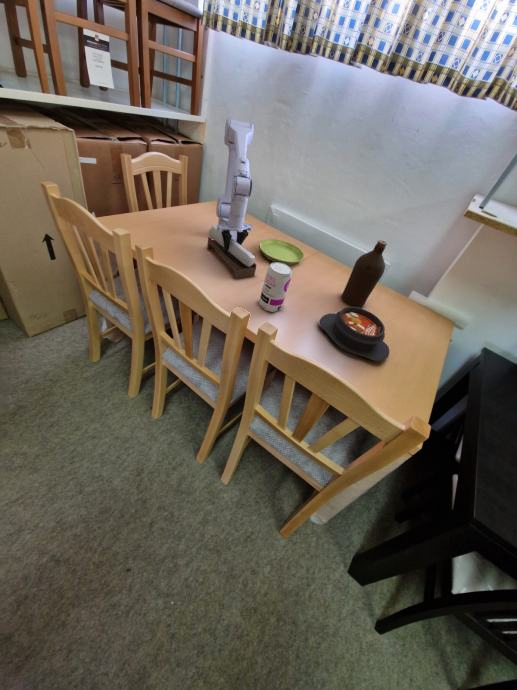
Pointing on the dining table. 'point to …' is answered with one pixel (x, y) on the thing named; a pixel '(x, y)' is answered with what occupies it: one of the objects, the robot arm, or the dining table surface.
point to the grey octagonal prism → (233, 248)
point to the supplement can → (275, 286)
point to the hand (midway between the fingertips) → (231, 248)
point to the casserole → (357, 332)
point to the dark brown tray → (232, 261)
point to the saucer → (281, 251)
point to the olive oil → (364, 276)
